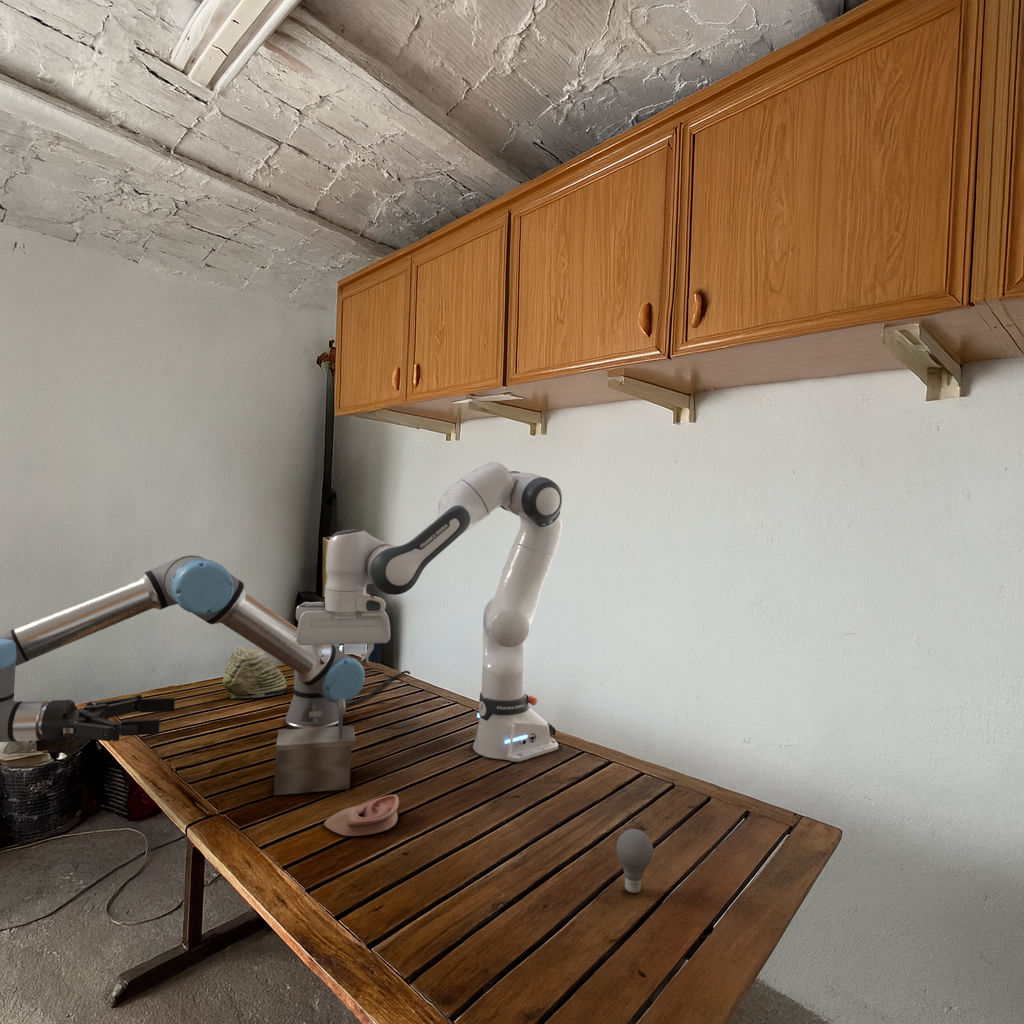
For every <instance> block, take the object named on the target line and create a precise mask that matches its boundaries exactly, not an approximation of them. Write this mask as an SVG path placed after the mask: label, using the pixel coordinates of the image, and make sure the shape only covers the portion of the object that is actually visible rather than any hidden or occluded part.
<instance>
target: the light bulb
mask: <svg viewBox="0 0 1024 1024" xmlns="http://www.w3.org/2000/svg"><path fill="white" fill-rule="evenodd" d="M615 849H616V854H617V857H618V859H619V861H620V863H621V865H622V867H623V873H624V874H623V875H624V876H625V878H624V888H625V890H627V891H628V892H630V893H634V894H635V893H639V892H640V891H641V889H642V887H641V886H642V879H643V877H644V875H645V871H646V868H647V867H648V866H649V864H650V863H651V861H652V859H653V855H654V847H653V843H652V841H651V838H649V836H648V835H647V834H646V833H645V832H643V831H642V830H641V829H636V828H629V829H627V830H625V831H623V832H622V833H621V834H620V835H619V837H618V839H617V841H616V847H615Z"/></svg>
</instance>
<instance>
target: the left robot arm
mask: <svg viewBox="0 0 1024 1024" xmlns="http://www.w3.org/2000/svg"><path fill="white" fill-rule="evenodd" d="M175 605H178V606H179V607H180V608H181V609H183V610H184V611H186V612H188V613H191V614H193V615H194V616H196V617H198V618H200V619H201V620H203V621H204V622H206V623H207V624H209V625H212V626H213V625H216V624H222V625H224V626H225V627H227V628H228V629H230V630H231V631H233V632H234V633H236V634H238V635H239V636H241V637H242V638H244V639H245V640H247V641H248V642H250V643H251V644H253V645H254V646H256V647H257V648H261V649H262V650H264V652H265V653H266V654H268V655H270V656H272V657H273V658H275V659H277V660H278V661H280V662H281V663H282V664H284V665H286V666H287V667H289V668H290V669H293V670H294V672H293V695H292V696H293V697H292V699H291V702H290V704H289V708H288V711H287V713H286V715H285V726H286V728H287V729H304V728H321V727H338V717H339V714H338V713H337V703H336V701H337V699H338V698H344V700H345V706H346V707H347V706H351V705H353V704H356V703H359V702H362V701H364V700H367V699H368V698H370V697H372V696H374V695H375V694H376V693H377V692H378V691H380V690H381V688H383V687H384V686H385V685H386V684H387V683H389V682H390V681H393V680H394V679H396V678H398V677H401V676H402V675H405V674H408V675H411V674H412V673H411V672H410V671H409V670H404V671H401V672H400V673H401V674H400V673H397V674H395V675H393V676H391V677H389V678H387V679H386V680H384V681H383V682H382V683H381V684H380V685H379V686H377V688H376V689H374V690H373V691H371V692H370V693H369V694H366V695H364V696H362V697H360V698H357V699H355V698H356V697H357V696H358V695H359V693H360V692H361V691H362V689H363V687H364V684H365V680H366V679H365V678H366V677H365V676H366V673H365V669H364V666H363V665H362V663H361V662H359V660H358V659H356V658H354V657H351V656H350V655H349V654H347V653H346V652H344V651H342V650H341V649H340V647H341V646H340V644H329V645H320V648H319V650H318V651H319V653H320V654H321V655H325V660H324V661H325V662H324V665H318V657H317V656H316V654H315V653H314V651H313V645H299V644H298V643H297V641H296V637H297V629H298V627H296V626H295V625H293V624H292V623H291V622H289V621H288V620H286V619H285V618H283V617H282V616H280V615H279V614H278V613H276V612H274V611H273V610H272V609H270V608H269V607H267V606H266V605H264V604H263V603H262V602H260V601H259V600H257V599H256V598H254V597H253V596H252V595H250V594H249V593H247V592H246V587H245V583H244V582H243V581H242V580H240V579H239V578H237V577H236V576H235V575H233V574H232V573H230V572H229V571H228V570H227V568H226V567H224V566H223V565H222V564H220V563H218V562H217V561H214V560H210V559H206V558H205V557H202V556H200V555H193V554H191V555H184V556H181V557H177V558H174V559H173V560H170V561H168V562H166V563H164V564H161V565H159V566H157V567H155V568H152V569H150V570H147V571H145V572H143V573H142V574H141V576H140V577H139V579H136V580H134V581H132V582H129V583H126V584H124V585H121V586H118V587H116V588H114V589H111V590H109V591H106V592H103V593H101V594H99V595H95V596H93V597H91V598H88V599H85V600H83V601H81V602H78V603H75V604H73V605H69V606H68V607H65V608H63V609H60V610H58V611H55V612H53V613H50V614H48V615H45V616H42V617H40V618H37V619H35V620H33V621H32V620H31V621H30V622H28V623H25V624H22V625H20V626H17V627H15V628H13V629H10V630H6V631H5V632H2V633H0V743H11V742H13V743H15V742H26V744H31V743H32V742H33V741H42V740H45V741H58V740H66V739H68V738H78V739H87V740H95V741H103V742H111V741H112V742H119V741H120V737H125V736H126V737H127V736H144V735H159V734H160V721H161V719H160V718H153V719H151V718H149V719H131V720H129V719H128V720H122V721H121V722H117V721H114V720H110V719H111V718H114V717H115V718H116V717H119V716H123V715H128V714H132V713H136V712H139V713H140V714H141V713H142V714H143V713H163V712H165V713H166V712H174V711H175V706H176V705H175V704H176V697H160V698H157V697H156V698H143V695H142V694H137V695H134V696H128V697H127V696H126V697H120V698H115V699H108V700H102V701H100V700H99V701H88V702H86V704H85V705H86V706H83V707H80V708H77V706H76V703H75V701H74V700H72V699H53V700H51V701H50V700H48V699H45V700H43V699H42V700H22V701H20V700H19V701H16V700H15V683H16V682H15V681H16V667H18V666H20V665H22V664H26V663H27V662H29V661H31V660H33V659H36V658H38V657H41V656H43V655H45V654H48V653H50V652H52V651H55V650H57V649H60V648H62V647H64V646H67V645H70V644H71V643H75V642H77V641H79V640H81V639H84V638H87V637H88V636H90V635H94V634H95V633H98V632H100V631H103V630H106V629H107V628H110V627H112V626H114V625H117V624H119V623H122V622H124V621H127V620H129V619H131V618H133V617H136V616H138V615H140V614H143V613H146V612H148V611H150V610H153V609H156V610H159V611H162V610H163V609H166V608H168V607H171V606H175Z"/></svg>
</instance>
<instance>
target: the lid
mask: <svg viewBox="0 0 1024 1024" xmlns="http://www.w3.org/2000/svg"><path fill="white" fill-rule="evenodd" d="M336 703H337V713H338V714H339V717H338V726H337V727H321V728H304V729H289V728H287V729H278V731H277V739H276V743H275V752H276V751H281V750H296V749H310V748H325V747H340V746H351V747H353V746H356V733H355V726H354V725H344V715H345V714H346V713H347V706H345V703H346V702H345V700H344V698H338V699H337V701H336Z"/></svg>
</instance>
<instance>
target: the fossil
mask: <svg viewBox="0 0 1024 1024" xmlns="http://www.w3.org/2000/svg"><path fill="white" fill-rule="evenodd" d="M222 676H223V677H222V685H223V687H224V688H225V690H226V691H228V693H229V698H230V699H250V698H264V697H271V696H275V695H281V694H284V693H285V691H286V689H287V687H288V686H287V680H286V678H285V676H284V674H283V673H282V672H281V669H279V668H278V667H277V665H276V663H275V662H274V660H273V659H272V658H271V657H270V656H269V654H268V653H267V652H266V651H264V650H262V649H261V648H259V647H257V648H251V647H247V646H246V647H245V646H238V647H237V648H236V649H235V650H233V651H232V653H231V656H230V657H229V659H228V660H227V663H226V666H225V668H224V671H223V675H222Z"/></svg>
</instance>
